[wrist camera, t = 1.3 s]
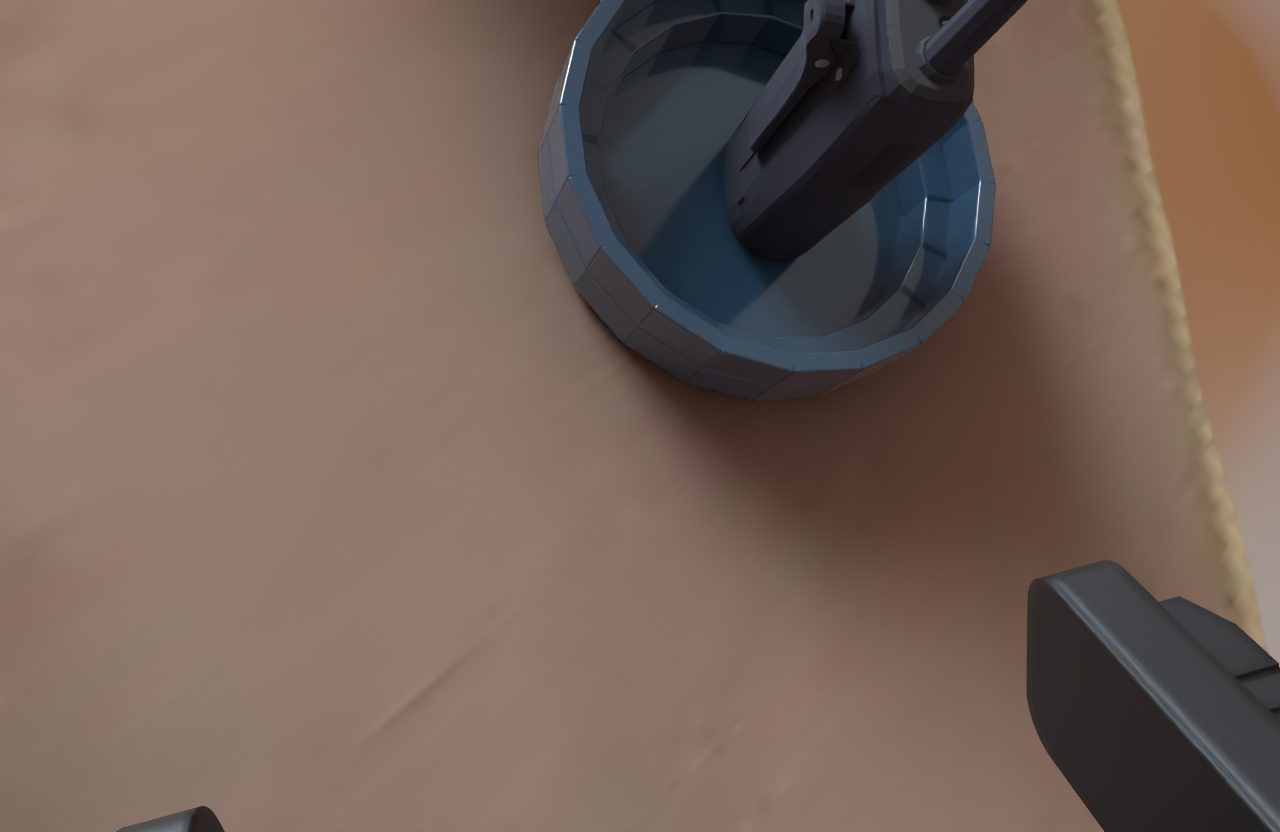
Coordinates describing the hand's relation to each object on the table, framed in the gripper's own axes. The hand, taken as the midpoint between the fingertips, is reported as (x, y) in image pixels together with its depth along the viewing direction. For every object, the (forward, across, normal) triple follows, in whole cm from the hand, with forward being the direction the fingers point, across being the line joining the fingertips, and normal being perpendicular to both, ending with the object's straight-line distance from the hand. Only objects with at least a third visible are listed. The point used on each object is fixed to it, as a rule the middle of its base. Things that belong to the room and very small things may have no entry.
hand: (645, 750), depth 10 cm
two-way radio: (+26, -8, +4) cm, 27 cm away
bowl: (+26, -8, +4) cm, 28 cm away
